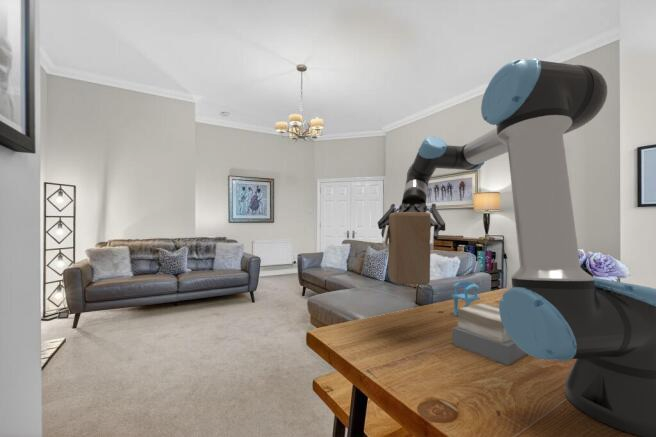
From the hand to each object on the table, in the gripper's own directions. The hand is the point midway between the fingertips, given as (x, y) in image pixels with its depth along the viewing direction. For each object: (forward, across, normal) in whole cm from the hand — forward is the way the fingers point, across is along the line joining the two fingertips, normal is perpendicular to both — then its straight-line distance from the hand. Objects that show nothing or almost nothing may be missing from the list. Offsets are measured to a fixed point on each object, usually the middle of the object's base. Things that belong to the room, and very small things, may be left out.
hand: (407, 245), depth 82 cm
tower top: (+12, -22, -20) cm, 31 cm away
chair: (-3, -16, -41) cm, 44 cm away
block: (+6, 0, -9) cm, 11 cm away
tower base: (+16, -22, -23) cm, 35 cm away
